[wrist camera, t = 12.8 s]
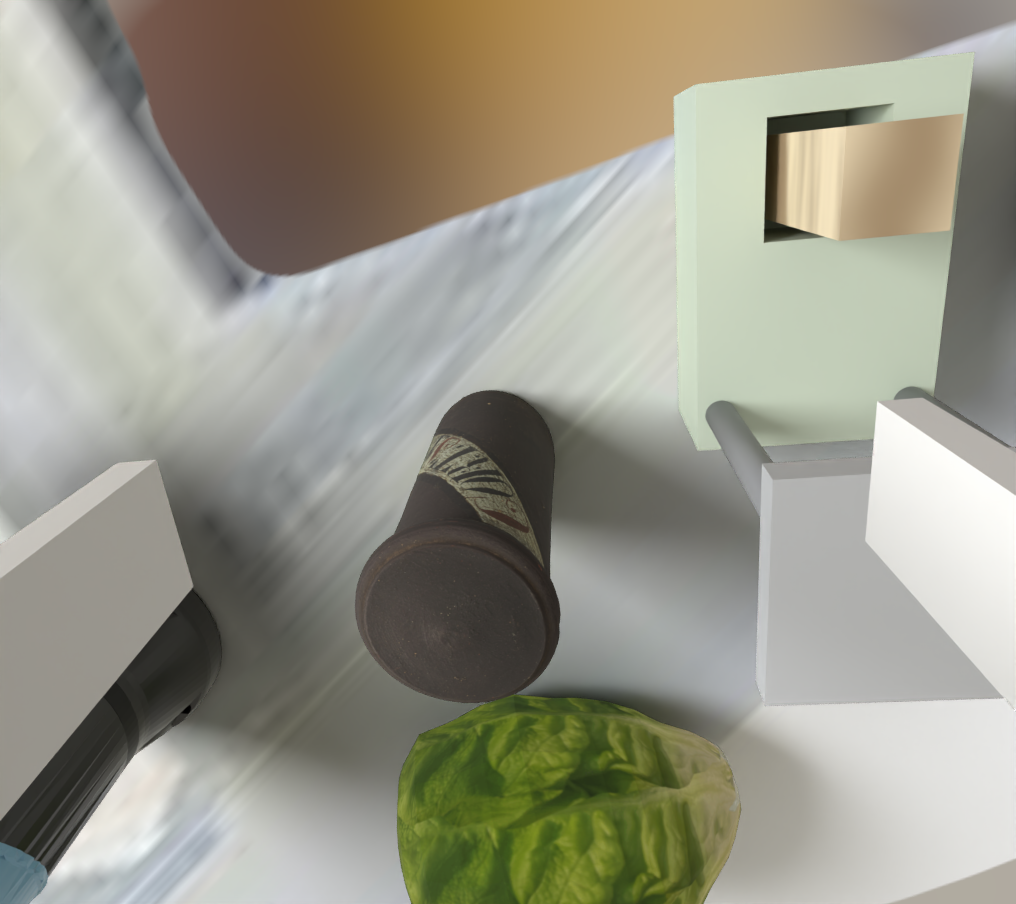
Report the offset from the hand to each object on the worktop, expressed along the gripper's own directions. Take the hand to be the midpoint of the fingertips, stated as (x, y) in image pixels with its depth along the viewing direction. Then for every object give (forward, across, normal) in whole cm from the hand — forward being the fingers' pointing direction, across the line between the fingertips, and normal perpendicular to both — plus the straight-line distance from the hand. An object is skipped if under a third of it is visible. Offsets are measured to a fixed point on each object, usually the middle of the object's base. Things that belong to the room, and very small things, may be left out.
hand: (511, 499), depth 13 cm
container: (+33, -3, -12) cm, 35 cm away
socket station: (+32, +15, 0) cm, 35 cm away
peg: (+31, +15, +4) cm, 34 cm away
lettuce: (+33, 0, -35) cm, 48 cm away
